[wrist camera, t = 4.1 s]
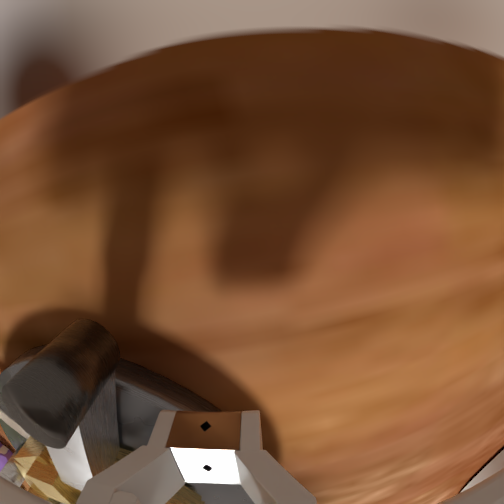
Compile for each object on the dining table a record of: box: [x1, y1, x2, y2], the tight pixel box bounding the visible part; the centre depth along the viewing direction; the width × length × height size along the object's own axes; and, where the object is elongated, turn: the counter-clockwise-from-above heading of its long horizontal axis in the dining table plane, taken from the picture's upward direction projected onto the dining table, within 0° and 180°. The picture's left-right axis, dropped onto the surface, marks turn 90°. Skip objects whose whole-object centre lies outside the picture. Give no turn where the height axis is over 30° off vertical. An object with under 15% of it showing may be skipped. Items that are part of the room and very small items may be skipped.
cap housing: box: [0, 345, 255, 504], centre depth 10 cm, size 18×18×6 cm
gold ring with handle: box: [2, 319, 205, 504], centre depth 9 cm, size 17×11×4 cm, turn 166°
